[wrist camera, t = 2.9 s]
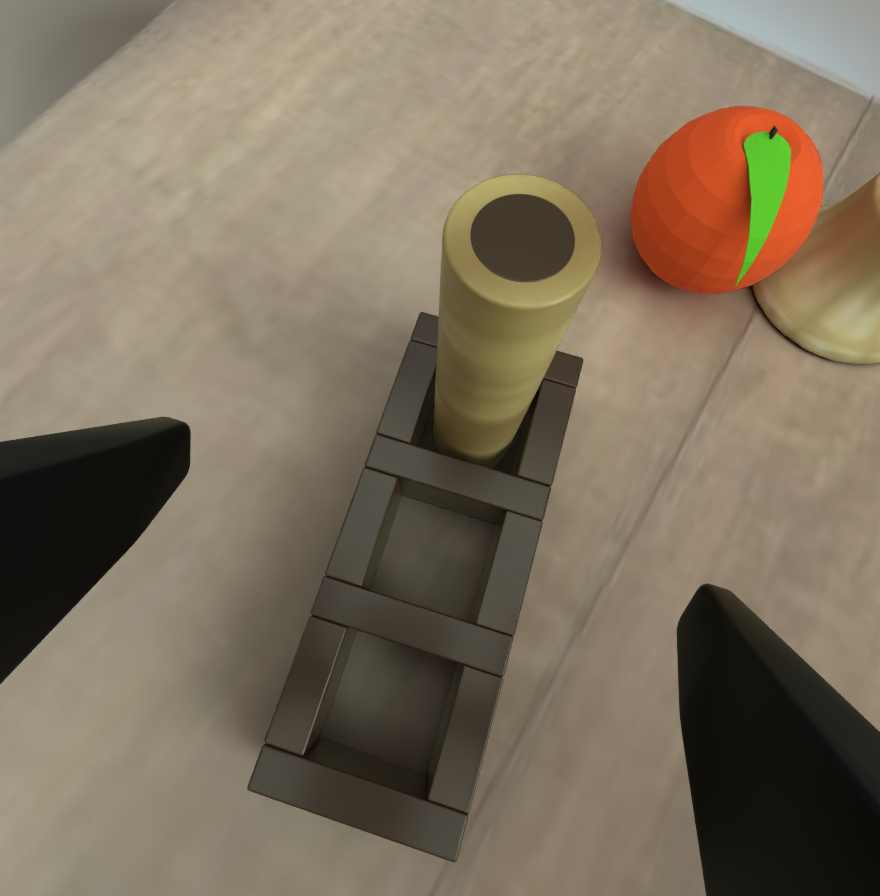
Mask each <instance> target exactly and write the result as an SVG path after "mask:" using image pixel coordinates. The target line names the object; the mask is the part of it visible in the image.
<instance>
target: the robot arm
mask: <svg viewBox="0 0 880 896" xmlns="http://www.w3.org/2000/svg"><path fill="white" fill-rule="evenodd" d="M190 440H191V432H190V427H189V426H188V425H187V423H185V422H182V421H179V420H176V419H172V418H169V417H158V418H151V419H145V420H138V421H132V422H126V423H119V424H113V425H106V426H100V427H93V428H87V429H80V430H74V431H67V432H61V433H55V434H48V435H42V436H35V437H29V438H22V439H16V440H9V441H3V442H0V684H1V683H2V682H3V681H4V680H5V679H6V678H7V677H8V676H9V675H10V674H11V673H12V671H13V670H14V669H15V668H16V667H17V666H18V665H19V664H20V663H21V662H22V661H23V660H24V659H25V658H26V657H27V656H28V655H29V654H30V653H31V652H32V650H33V649H34V648H35V647H36V646H37V645H38V644H39V643H40V642H41V641H42V640H43V639H44V638H45V637H46V636H47V635H48V634H49V633H50V632H51V631H52V629H53V628H54V627H55V626H56V625H57V624H58V623H59V622H60V621H61V620H62V619H63V618H64V617H65V616H66V615H67V614H68V613H69V612H70V611H71V609H72V608H73V607H74V606H75V605H76V604H77V603H78V602H79V601H80V600H81V599H82V598H83V597H84V596H85V595H86V594H87V593H88V592H89V591H90V590H91V588H92V587H93V586H94V585H95V584H96V583H97V582H98V581H99V580H100V579H101V578H102V577H103V576H104V575H105V574H106V573H107V572H108V571H109V570H110V569H111V567H112V566H113V565H114V564H115V563H116V562H117V561H118V560H119V559H120V558H121V557H122V556H123V555H124V554H125V553H126V552H127V551H128V549H129V548H130V547H131V546H132V545H133V544H134V543H135V542H136V541H137V539H138V538H139V537H140V536H141V534H142V533H143V532H144V531H145V530H146V528H147V527H148V526H149V524H150V523H151V522H152V520H153V519H154V518H155V516H156V515H157V514H158V512H159V511H160V510H161V509H162V507H163V506H164V505H165V503H166V502H167V501H168V499H169V498H170V497H171V495H172V494H173V493H174V491H175V490H176V489H177V488H178V486H179V485H180V484H181V482H182V481H183V480H184V478H185V477H186V475H187V473H188V470H189V467H190ZM677 654H678V685H679V709H680V721H681V729H682V737H683V743H684V750H685V757H686V763H687V770H688V777H689V783H690V790H691V797H692V803H693V810H694V817H695V823H696V830H697V837H698V844H699V850H700V857H701V864H702V870H703V877H704V884H705V890H706V896H880V732H879V731H878V730H877V729H876V728H875V727H874V726H873V725H872V724H871V723H870V722H869V721H868V720H867V719H866V718H864V717H863V716H862V715H861V714H860V713H859V712H858V711H857V710H856V709H855V708H854V707H853V706H852V705H851V704H850V703H849V702H848V701H846V700H845V699H844V698H843V697H842V696H841V695H840V694H839V693H838V692H837V691H836V690H835V689H834V688H833V687H832V686H831V685H830V684H829V683H827V682H826V681H825V680H824V679H823V678H822V677H821V676H820V675H819V674H818V673H817V672H816V671H815V670H814V669H813V668H812V667H811V666H810V665H808V664H807V663H806V662H805V661H804V660H803V659H802V658H801V657H800V656H799V655H798V654H797V653H796V652H795V651H794V650H793V649H792V648H791V647H789V646H788V645H787V644H786V643H785V642H784V641H783V640H782V639H781V638H780V637H779V636H778V635H777V634H776V633H775V632H774V631H773V630H772V629H770V628H769V627H768V626H767V625H766V624H765V623H764V622H763V621H762V620H761V619H760V618H759V617H758V616H757V615H756V614H755V613H754V612H752V611H751V610H750V609H749V608H748V607H747V606H746V605H745V604H744V603H743V602H742V601H741V600H740V599H739V598H738V597H737V596H736V595H735V594H733V593H732V592H731V591H729V590H727V589H724V588H721V587H718V586H714V585H711V584H703V585H701V586H700V587H699V588H698V590H697V591H696V593H695V594H694V596H693V598H692V599H691V601H690V603H689V604H688V606H687V607H686V609H685V611H684V612H683V614H682V616H681V617H680V620H679V622H678V626H677Z"/></svg>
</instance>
